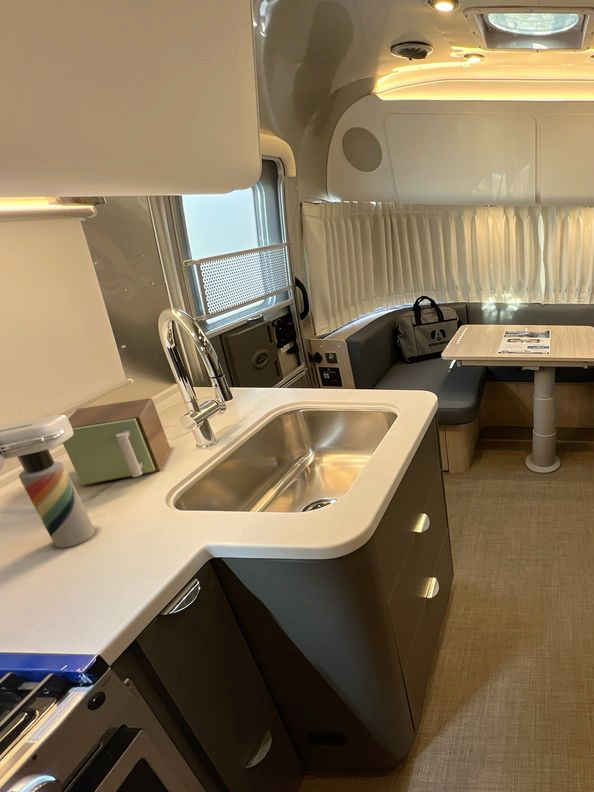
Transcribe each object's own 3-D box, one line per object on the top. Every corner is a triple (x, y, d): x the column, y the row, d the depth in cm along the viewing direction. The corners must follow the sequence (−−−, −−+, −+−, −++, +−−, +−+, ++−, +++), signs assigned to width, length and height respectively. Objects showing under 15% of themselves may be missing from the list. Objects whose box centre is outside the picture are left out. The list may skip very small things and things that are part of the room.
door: (74, 495, 101) (48, 441, 96) (83, 482, 106) (59, 430, 101) (149, 480, 107) (128, 427, 101) (155, 469, 111) (135, 418, 106)
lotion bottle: (55, 537, 91) (6, 443, 82) (95, 524, 94) (51, 433, 86) (54, 552, 87) (3, 456, 79) (95, 538, 90) (50, 444, 82)
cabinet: (83, 486, 107) (57, 429, 101) (101, 461, 117) (77, 408, 111) (159, 471, 112) (139, 416, 106) (170, 448, 122) (151, 397, 116)
